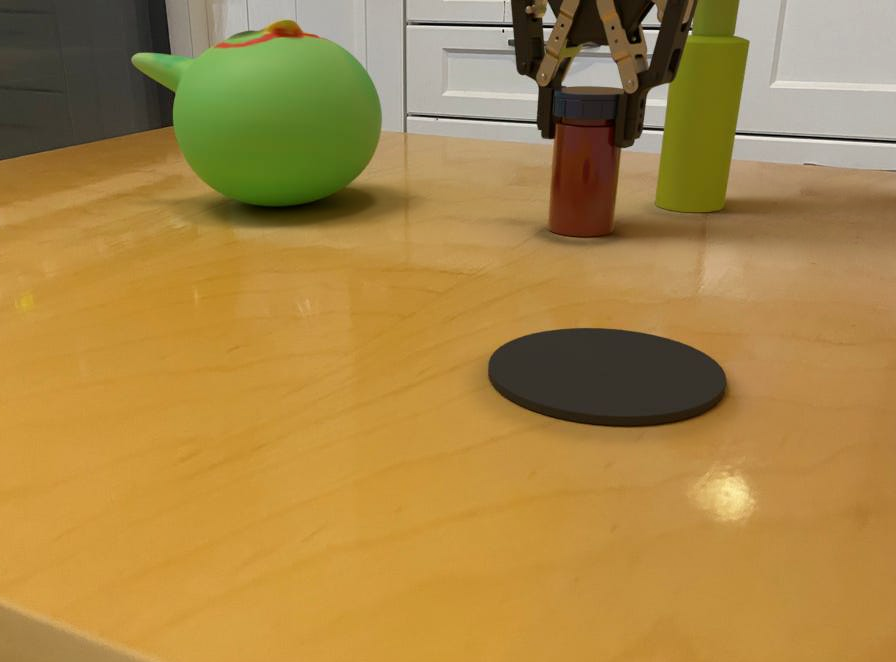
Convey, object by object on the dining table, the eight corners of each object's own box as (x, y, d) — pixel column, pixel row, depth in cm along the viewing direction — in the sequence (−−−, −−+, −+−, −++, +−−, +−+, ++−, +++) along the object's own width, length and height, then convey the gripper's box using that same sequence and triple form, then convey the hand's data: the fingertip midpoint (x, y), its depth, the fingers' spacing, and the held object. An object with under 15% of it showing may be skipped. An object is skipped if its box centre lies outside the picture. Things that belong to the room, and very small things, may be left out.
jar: (593, 219, 78) (605, 97, 73) (625, 233, 74) (639, 105, 69) (536, 223, 77) (544, 99, 72) (565, 239, 72) (575, 108, 68)
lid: (538, 115, 71) (540, 91, 70) (574, 107, 74) (576, 84, 74) (606, 122, 68) (609, 96, 67) (640, 113, 72) (643, 89, 71)
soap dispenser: (747, 207, 82) (792, -60, 72) (684, 215, 79) (722, -61, 69) (702, 194, 86) (738, -59, 76) (641, 201, 84) (670, -59, 74)
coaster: (672, 331, 54) (673, 322, 54) (767, 417, 44) (769, 408, 44) (468, 341, 53) (468, 332, 53) (517, 433, 43) (518, 423, 42)
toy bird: (259, 237, 73) (242, 26, 66) (141, 203, 83) (114, 18, 76) (419, 200, 84) (419, 16, 77) (298, 174, 94) (288, 10, 87)
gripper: (492, -121, 65) (481, 139, 73) (691, -130, 57) (654, 159, 66) (545, -113, 70) (530, 128, 78) (734, -121, 63) (695, 146, 71)
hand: (587, 141), depth 72 cm, fingers closed on lid, 5 cm apart
